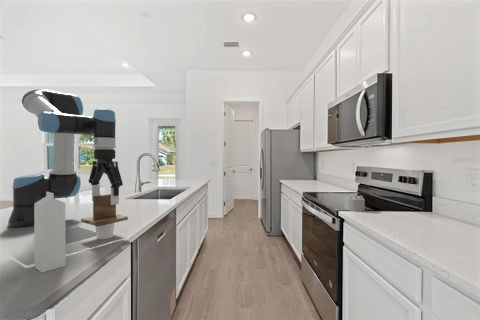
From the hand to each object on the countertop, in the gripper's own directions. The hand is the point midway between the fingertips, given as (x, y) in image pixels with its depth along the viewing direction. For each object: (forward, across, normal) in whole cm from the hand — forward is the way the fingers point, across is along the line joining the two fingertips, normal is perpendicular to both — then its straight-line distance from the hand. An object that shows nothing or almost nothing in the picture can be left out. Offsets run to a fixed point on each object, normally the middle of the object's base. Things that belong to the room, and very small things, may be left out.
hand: (105, 202), depth 100 cm
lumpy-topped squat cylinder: (+14, +74, +117) cm, 139 cm away
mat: (+14, -14, -6) cm, 21 cm away
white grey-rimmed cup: (+14, 0, 0) cm, 14 cm away
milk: (+14, +12, -23) cm, 30 cm away
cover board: (+7, 0, 0) cm, 7 cm away
